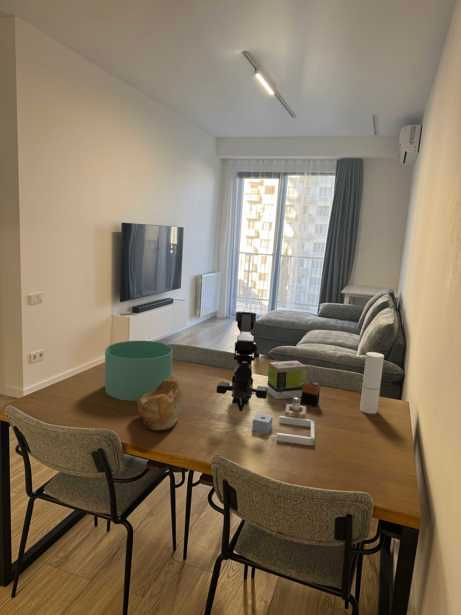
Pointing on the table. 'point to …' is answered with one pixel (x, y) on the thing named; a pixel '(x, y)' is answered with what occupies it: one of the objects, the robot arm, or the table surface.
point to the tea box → (286, 379)
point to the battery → (310, 394)
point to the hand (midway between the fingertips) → (240, 411)
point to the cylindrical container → (371, 382)
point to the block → (262, 423)
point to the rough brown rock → (161, 405)
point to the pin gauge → (296, 404)
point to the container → (136, 368)
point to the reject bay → (297, 438)
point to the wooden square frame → (295, 414)
